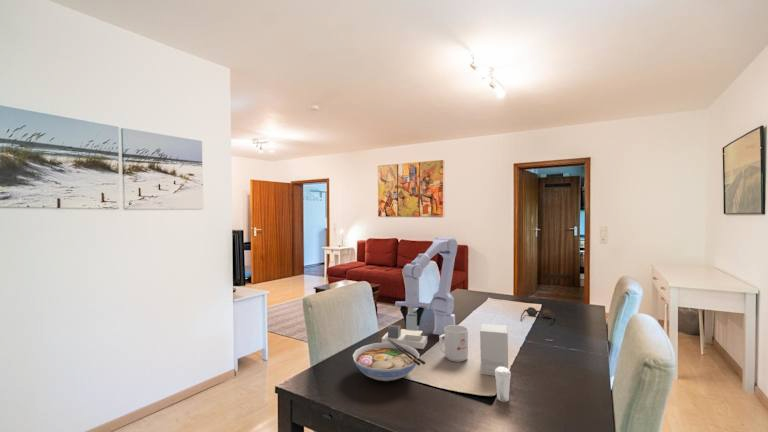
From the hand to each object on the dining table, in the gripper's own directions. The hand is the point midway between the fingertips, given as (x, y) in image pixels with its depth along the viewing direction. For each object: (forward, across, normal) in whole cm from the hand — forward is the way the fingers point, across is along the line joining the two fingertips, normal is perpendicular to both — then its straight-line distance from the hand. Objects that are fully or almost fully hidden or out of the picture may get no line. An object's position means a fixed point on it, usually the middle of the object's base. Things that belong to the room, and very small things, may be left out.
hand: (412, 324), depth 146 cm
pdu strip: (+8, -4, 0) cm, 9 cm away
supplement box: (+8, +33, -16) cm, 38 cm away
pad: (+8, -4, +11) cm, 14 cm away
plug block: (+2, 0, 0) cm, 2 cm away
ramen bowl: (+8, -2, -31) cm, 32 cm away
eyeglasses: (+9, +54, +51) cm, 75 cm away
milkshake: (+8, +35, -35) cm, 50 cm away
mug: (+8, +18, -10) cm, 22 cm away
